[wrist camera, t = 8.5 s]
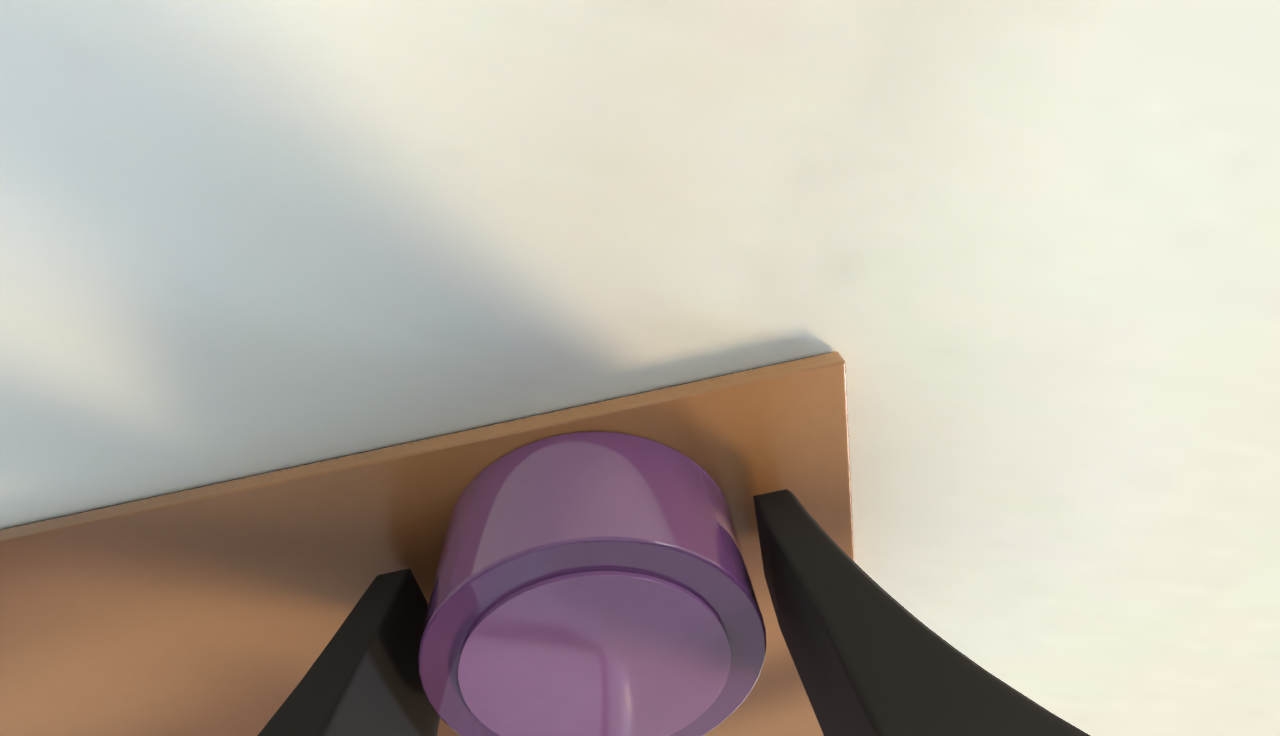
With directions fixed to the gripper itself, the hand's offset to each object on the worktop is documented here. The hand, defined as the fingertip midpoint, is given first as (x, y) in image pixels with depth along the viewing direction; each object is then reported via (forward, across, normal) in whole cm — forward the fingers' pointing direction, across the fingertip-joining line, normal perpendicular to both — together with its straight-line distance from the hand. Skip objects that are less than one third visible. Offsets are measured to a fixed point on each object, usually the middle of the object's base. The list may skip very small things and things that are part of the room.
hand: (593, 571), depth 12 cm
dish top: (0, 0, 0) cm, 1 cm away
